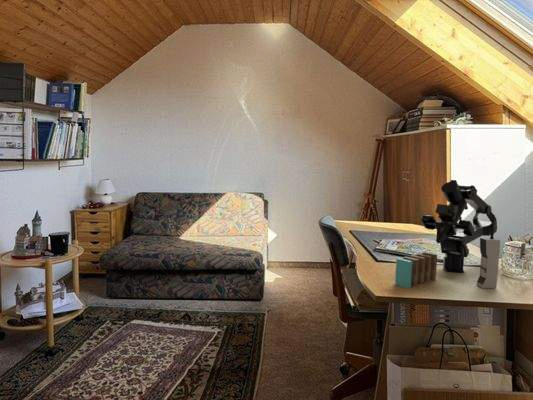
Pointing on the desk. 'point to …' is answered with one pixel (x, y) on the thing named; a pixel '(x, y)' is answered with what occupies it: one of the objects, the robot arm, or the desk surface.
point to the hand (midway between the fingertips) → (437, 242)
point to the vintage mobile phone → (489, 260)
